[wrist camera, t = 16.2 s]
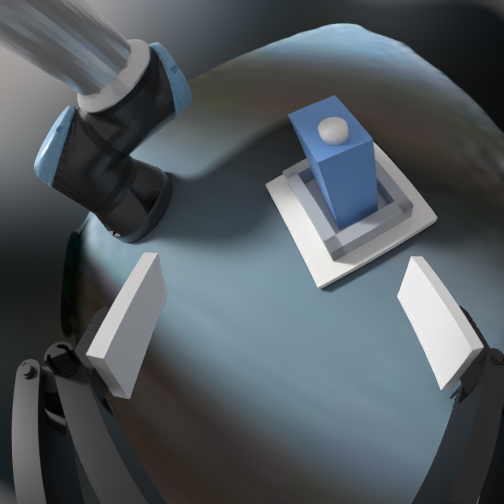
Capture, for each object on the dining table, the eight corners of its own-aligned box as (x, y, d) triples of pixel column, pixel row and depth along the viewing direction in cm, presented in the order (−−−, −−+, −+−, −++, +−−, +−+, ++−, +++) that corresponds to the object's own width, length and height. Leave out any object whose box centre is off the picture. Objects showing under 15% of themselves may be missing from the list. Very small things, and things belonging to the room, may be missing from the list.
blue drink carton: (317, 184, 33) (284, 107, 23) (352, 169, 32) (332, 87, 21) (339, 230, 30) (314, 154, 19) (377, 213, 29) (371, 130, 18)
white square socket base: (267, 188, 38) (257, 173, 35) (364, 136, 34) (361, 118, 31) (319, 289, 30) (313, 281, 27) (436, 221, 26) (441, 206, 23)
